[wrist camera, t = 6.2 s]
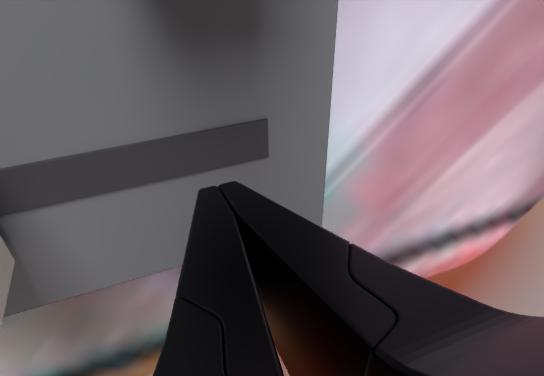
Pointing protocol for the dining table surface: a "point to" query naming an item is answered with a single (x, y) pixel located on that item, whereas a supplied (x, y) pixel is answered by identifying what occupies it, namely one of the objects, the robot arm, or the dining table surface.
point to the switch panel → (150, 128)
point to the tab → (5, 276)
